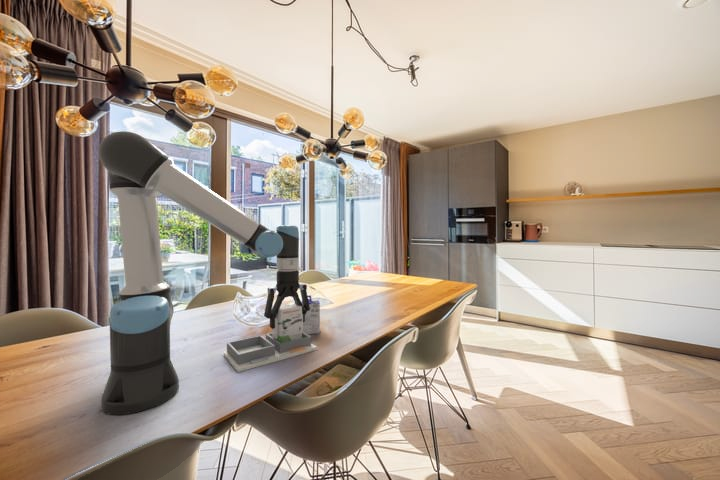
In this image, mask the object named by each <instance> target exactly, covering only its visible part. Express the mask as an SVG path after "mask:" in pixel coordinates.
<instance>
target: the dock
mask: <svg viewBox="0 0 720 480" xmlns="http://www.w3.org/2000/svg"><path fill="white" fill-rule="evenodd" d="M317 350H318V346H317V345H315V344H313V343H312V336H311V335H310V334H305V333H304V332H302V338H301V339H297V340H293V341H289V342H285V343H280V342H279V341H277V340H276V339H274V337H272V332H269V333H265V337H264V336H263V335H256V336H250V337H247V338H242V339H238V340H232V341H228V342H226V351H223V356H224V357H225V358H226V359H227V361H228V362H229V363H230V364H231V366H232V367H233V368H234V369H235V371H236V372H237V373H240V372H243V371H247V370H249V369H253V368H257V367H261V366H264V365H267V364H271V363H275V362H278V361H282V360H285V359H289V358H292V357H296V356H298V355H303V354H307V353H309V352H313V351H317Z"/></svg>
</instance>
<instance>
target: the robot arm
mask: <svg viewBox="0 0 720 480" xmlns="http://www.w3.org/2000/svg"><path fill="white" fill-rule="evenodd" d="M98 159H99V161H100V163H101V164H102V166H103V167H104V168H105V169H106V171H107V173H108V174H107V175H108V177H107V178H108V186H109V187H108V188H109V191H110V193H112V194H113V195H115V197H117V203H118V205H117V206H118V214H119V215H118V216H119V225H120V226H119V227H120V236H121V246H122V247H121V248H122V259H123V270H124V271H123V273H124V280H125V281H124V283H125V286H124V287H123V288H122V289H121V290H120V291H119V293H118V296H119V301H118V302H117V303H115V304H114V305H112V307H111V308H110V311H109V317H108V325H109V338H110V339H109V345H110V347H109V348H110V349H109V350H110V351H109V352H110V355H109V357H110V373H109V375H108V378H107V382H106V384H105V386H104V389H103V393H102V395H101V397H100V399H101V400H100V403H101V411H102V410H103V411H104V412H103V411H102V412H103V413H105V412H106V413H105V414H108V413H109V415H113V414H114V415H117V416H120V415H129V414H135V412H136V413H139V411H140V412H143V411H146V409H147V410H149V408H150V409H152V408H154V407H157V406H160V405H161V404H163V403H165V402H167V401H168V400H170V399H171V398H173V397H174V396H175V395H176V394H177V393H176V392H178V391H179V389H180V385H179V383H180V381H179V376H178V374H177V372H176V368H175V367H174V365H173V362H172V360H171V359H172V358H171V322H172V319H173V315H174V310H175V309H174V304H173V301H172V294H171V285H170V284H168V283H167V282H166V281H164V274H163V273H164V272H163V261H162V250H161V238H160V237H161V235H160V225H159V223H160V222H159V214H158V213H159V211H158V202H157V199H158V196H160V195H161V194H162V195H163V196H165V197H167V198H168V199H170V200H171V201H172V202H174V203H176V204H178V205H179V206H181V207H183V208H184V209H186V210H187V211H189V212H190V213H192V214H194V216H195V215H196V216H197V217H199V218H200V219H202V220H203V221H205V222H207V223H208V224H209V225H212V226H213V227H214V228H216V229H218V230H220V231H221V232H223V233H224V234H226V235H227V236H230V237H231V238H232V239H234V240H236V241H237V242H238V250H239V253H240V254H242V255H258V256H261V257H262V258H273V257H276V269H277V271H276V284H275V286H273V287H267V299H266V304H265V308H264V314H263V316H264V318H266V319H269V328H270V329H271V330H272V331H271V333H272V337H274V338H275V339H277V338H278V319H277V318H276V315H277V313H278V310H279V308H280V306H282V303H283V301H284V300H285V298H289V297H291V298H292V299H293V300H294V304H295V303H296V305H298V306H302V332H303V322H305V314H306V313H307V311H309V310H310V306H309V301H308V299H309V297H308V296H309V295H308V292H307V287H308V286H307V284H306V283H300V282H299V280H300V271H299V270H298V269H299V268H300V267H299V266H300V261H299V258H300V255H299V254H300V252H299V251H300V250H299V249H300V248H299V247H300V233H299V227H298V226H296V225H283V224H281V225H277V226H276V229H275V230H271V229H269V228H267V227H266V226H264V225H263V224H261V223H260V222H258V221H257V220H255V219H254V218H253V217H251V216H250V215H248V214H247V213H246V212H244V211H243V210H241V209H239V208H238V207H236V206H235V205H234V204H232V203H231V202H229V201H227V200H226V199H225V198H223V197H221V196H220V195H219V194H217V193H216V192H214V191H213V190H211V189H210V188H208V187H207V186H205V185H204V184H202V182H200V181H198V180H197V179H195V177H192V176H191V175H190V174H188V173H187V172H185V171H184V170H182V169H180V168H179V167H178V166H176V165H175V163H174V159H173V158H172V157H171V156H169V155H167V154H166V153H165V152H163V151H162V150H161V149H159V148H158V147H157V146H155V145H154V144H153V143H152V142H150V140H148V139H147V138H145V136H144V137H143V135H142V136H141V135H140V134H138V133H135V132H132V131H127V130H125V131H123V130H121V131H115V132H112V133H110V134H108V135H106V136H105V137H104V138H103V139H102V140H101V141H100V142H99V146H98ZM298 290H299V292H300V295H301V299H300V296H299V293H298ZM276 292H277V296H276V299H275V294H276ZM274 299H275V301H274ZM301 302H303V305H302V303H301ZM178 388H179V389H178ZM177 390H178V391H177ZM175 393H176V394H175ZM174 394H175V395H174ZM173 395H174V396H173ZM172 396H173V397H172Z"/></svg>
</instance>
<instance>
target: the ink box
mask: <svg viewBox="0 0 720 480" xmlns="http://www.w3.org/2000/svg"><path fill="white" fill-rule="evenodd" d="M276 318H277V319H278V338H277V339H276V340H277V341H279V342H280V343H285V342H289V341H293V340H297V339H301V338H302V306H298V305H296V304H295V303H290V304H284V305H281V306H280V308H279V310H278V313H277V315H276ZM274 339H275V338H274Z"/></svg>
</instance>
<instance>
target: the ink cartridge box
mask: <svg viewBox="0 0 720 480" xmlns="http://www.w3.org/2000/svg"><path fill="white" fill-rule="evenodd" d="M307 296H308V301H309V306H310V310H309V311H307V313H306V314H305V322H303V332H304V333H305V334H307V335H313V334H314V335H315V334H321V333H320V331H321V321H320V320H321V319H320V318H321V316H320V315H321V313H320V311H321V303H320V300H317V299H316V300H312V295H307ZM301 303H302V305H303V302H302V301H301ZM294 304H296V303H295V302H294Z"/></svg>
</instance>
